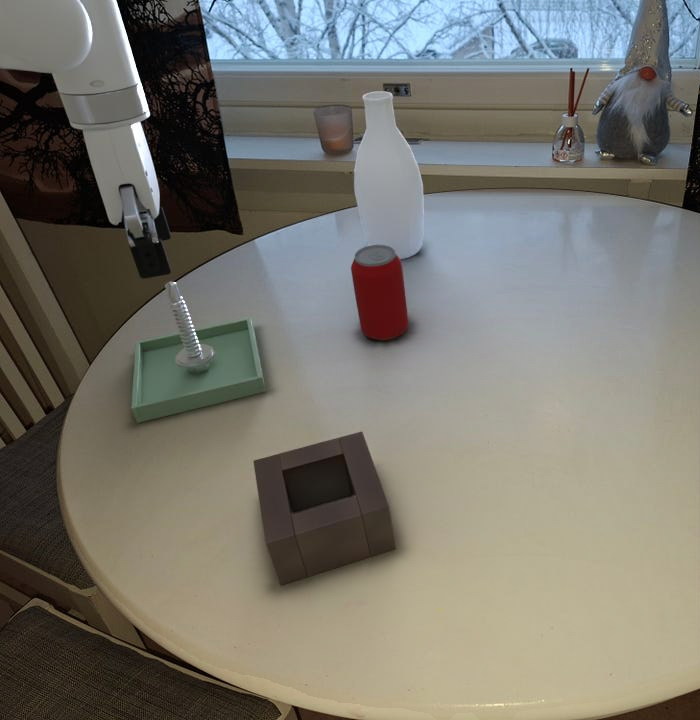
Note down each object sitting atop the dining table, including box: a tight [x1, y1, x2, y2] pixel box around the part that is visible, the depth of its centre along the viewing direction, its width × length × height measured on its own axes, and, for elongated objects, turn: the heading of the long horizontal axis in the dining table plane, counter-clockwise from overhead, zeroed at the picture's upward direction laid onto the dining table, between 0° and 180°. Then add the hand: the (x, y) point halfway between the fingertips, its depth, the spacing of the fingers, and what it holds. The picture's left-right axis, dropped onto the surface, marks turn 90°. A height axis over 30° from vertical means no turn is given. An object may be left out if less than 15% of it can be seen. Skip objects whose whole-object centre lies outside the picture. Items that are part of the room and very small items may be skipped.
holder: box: [252, 431, 397, 586], centre depth 66 cm, size 11×11×6 cm
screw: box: [164, 281, 215, 374], centre depth 85 cm, size 13×5×5 cm
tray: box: [130, 317, 267, 424], centre depth 89 cm, size 15×15×2 cm
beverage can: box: [350, 245, 409, 341], centre depth 92 cm, size 7×7×12 cm
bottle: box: [353, 90, 425, 260], centre depth 109 cm, size 11×11×25 cm
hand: (157, 257), depth 79 cm, fingers open, 9 cm apart
